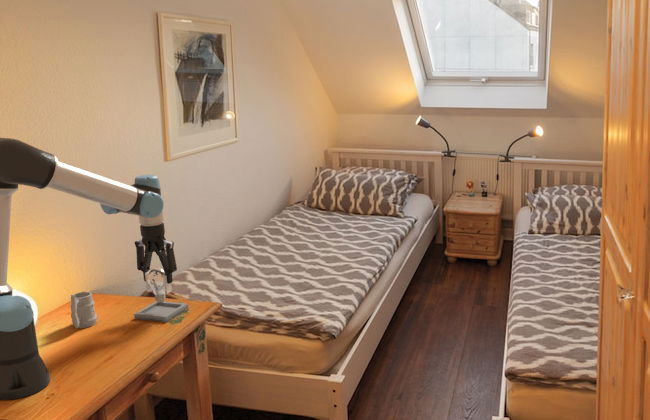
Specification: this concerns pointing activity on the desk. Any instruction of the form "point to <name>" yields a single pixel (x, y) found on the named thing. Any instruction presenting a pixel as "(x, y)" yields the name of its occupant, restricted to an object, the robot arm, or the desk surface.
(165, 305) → the dish
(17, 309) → the robot arm
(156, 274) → the light bulb
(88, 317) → the mug
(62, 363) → the desk surface
